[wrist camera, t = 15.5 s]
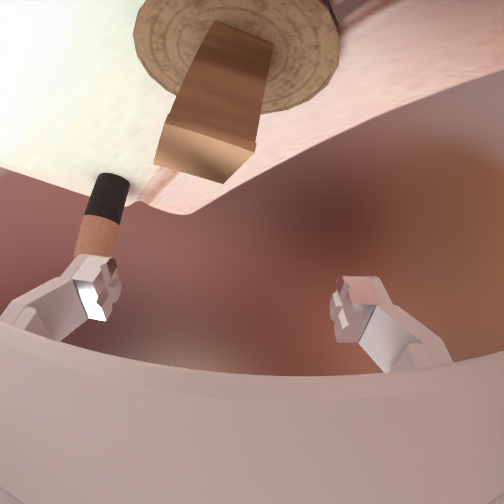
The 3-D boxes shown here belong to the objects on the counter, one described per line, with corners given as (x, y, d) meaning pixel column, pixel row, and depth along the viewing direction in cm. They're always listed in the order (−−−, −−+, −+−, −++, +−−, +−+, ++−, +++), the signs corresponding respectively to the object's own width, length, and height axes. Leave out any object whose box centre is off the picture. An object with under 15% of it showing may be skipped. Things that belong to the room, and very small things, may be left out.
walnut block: (213, 19, 14) (164, 123, 12) (274, 44, 16) (254, 152, 13) (194, 61, 18) (152, 164, 16) (247, 80, 20) (223, 184, 18)
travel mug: (137, 184, 51) (112, 285, 46) (120, 191, 55) (97, 281, 51) (106, 168, 45) (76, 276, 40) (91, 177, 49) (65, 273, 45)
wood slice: (115, -1, 13) (96, 16, 12) (315, -64, 7) (316, -58, 7) (197, 103, 27) (190, 123, 27) (347, 89, 22) (348, 111, 21)
